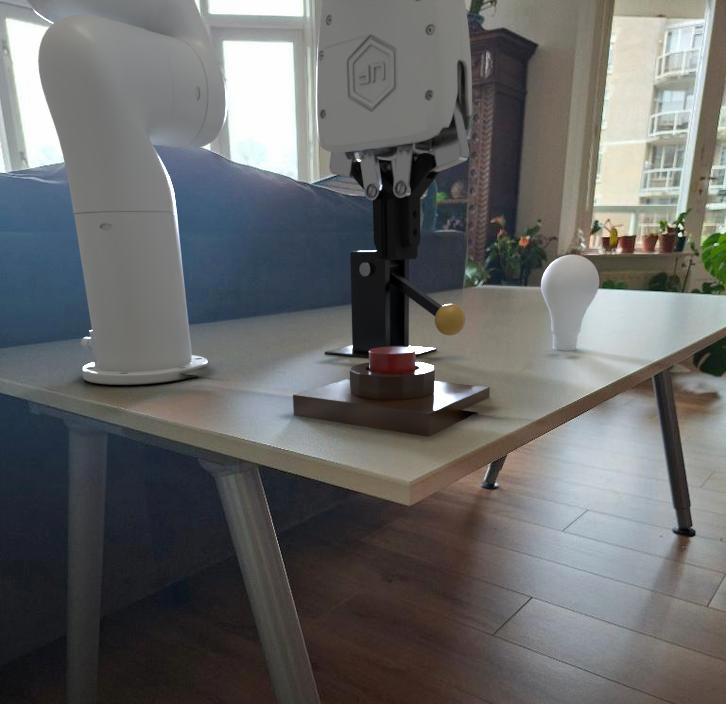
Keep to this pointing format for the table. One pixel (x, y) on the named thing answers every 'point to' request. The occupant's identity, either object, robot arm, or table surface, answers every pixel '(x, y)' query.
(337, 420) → the button base
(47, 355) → the table surface
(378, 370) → the lamp button
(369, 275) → the switch bracket
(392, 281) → the switch lever
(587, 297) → the lightbulb
